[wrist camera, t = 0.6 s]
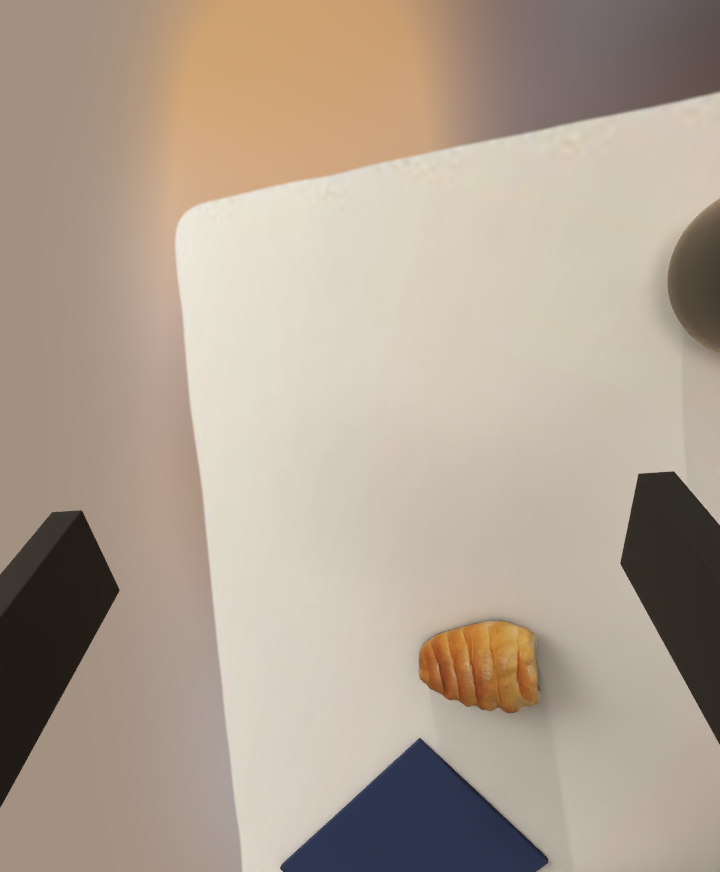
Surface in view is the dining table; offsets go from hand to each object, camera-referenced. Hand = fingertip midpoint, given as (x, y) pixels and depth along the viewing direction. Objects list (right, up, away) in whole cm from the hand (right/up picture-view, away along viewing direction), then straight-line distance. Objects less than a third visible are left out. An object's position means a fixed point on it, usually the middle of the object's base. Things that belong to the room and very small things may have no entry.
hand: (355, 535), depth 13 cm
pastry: (+10, -15, +30) cm, 35 cm away
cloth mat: (+4, -35, +34) cm, 49 cm away
